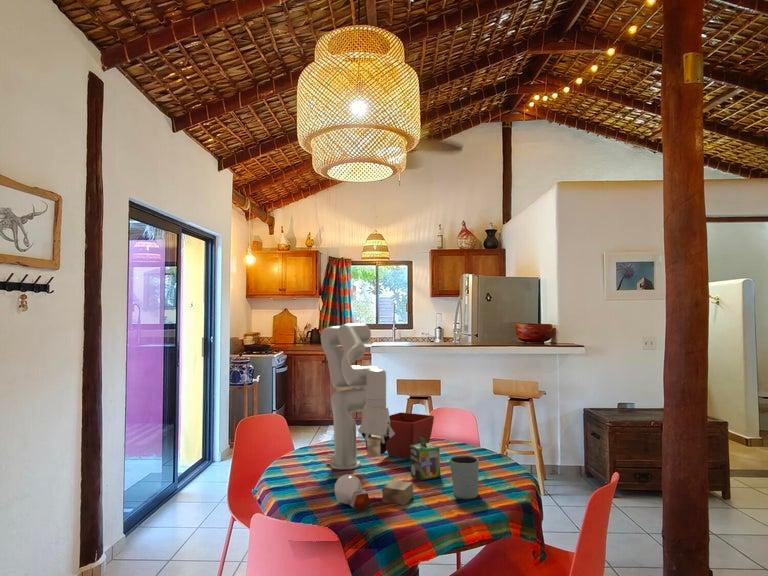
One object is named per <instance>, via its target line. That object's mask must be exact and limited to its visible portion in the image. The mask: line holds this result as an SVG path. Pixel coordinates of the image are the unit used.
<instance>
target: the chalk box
mask: <svg viewBox="0 0 768 576" xmlns="http://www.w3.org/2000/svg"><path fill="white" fill-rule="evenodd" d="M419 439H420V442H421V444H415V445H410V459H409V460H410V475H412V476H413V477H415V478H416V479H418V480H419V481H423V480H429V479H434V478H435V479H436V478H441V477H442V476H441V474H442V473H441V472H442V471H441V459H440V458H441V457H440V446H438V445H435V444H433V443H430V442H429V443H426V442H425V439H424V438H421V437H419ZM422 440H423V442H424V443H422Z"/></svg>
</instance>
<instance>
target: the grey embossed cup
mask: <svg viewBox="0 0 768 576" xmlns="http://www.w3.org/2000/svg"><path fill="white" fill-rule="evenodd" d="M479 464H480V463H479V458H478V457H476V456H473V455H455V456H452V457H450V458H449V466H450V471H451V472H450V473H451V480H452V491H453V496H455V497H457V498H460V499H464V500H465V499H466V500H469V499H475V498H477V497H478V495H479V467H480V466H479Z"/></svg>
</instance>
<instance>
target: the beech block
mask: <svg viewBox="0 0 768 576" xmlns="http://www.w3.org/2000/svg"><path fill="white" fill-rule="evenodd" d="M381 443H382V441H381V437H380V436H378V435H371V436H370V437H369V438H367V449H366V455H367V456H372V457H381V456H383V455H384V454H381Z"/></svg>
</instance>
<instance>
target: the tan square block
mask: <svg viewBox="0 0 768 576" xmlns="http://www.w3.org/2000/svg"><path fill="white" fill-rule="evenodd" d="M381 489H382V502H383V503H390V504H396V505H402V506H405V505H406V504H408V503H409V501H410V500H411V499H412V498H414V482H411V481H403V480H402V481H401V480H395V479H391V480H390V481H389V482H387V483H386V484H385V485H383V486H382V488H381Z"/></svg>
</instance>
